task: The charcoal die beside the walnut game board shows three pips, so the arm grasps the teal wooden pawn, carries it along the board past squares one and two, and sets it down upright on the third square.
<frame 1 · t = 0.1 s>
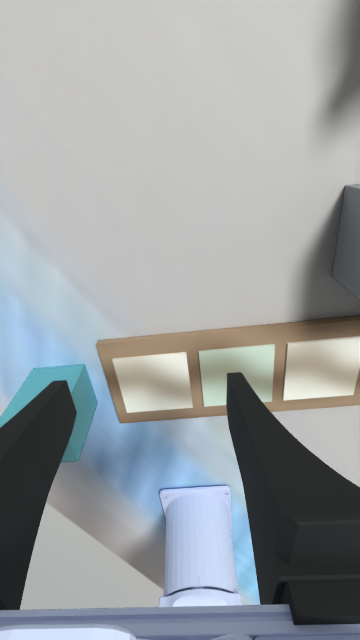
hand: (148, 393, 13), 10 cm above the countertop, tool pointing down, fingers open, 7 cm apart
board: (235, 372, 26), on the countertop
pawn: (66, 385, 26), on the countertop
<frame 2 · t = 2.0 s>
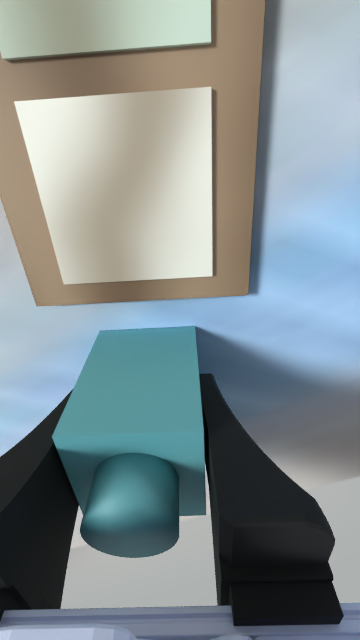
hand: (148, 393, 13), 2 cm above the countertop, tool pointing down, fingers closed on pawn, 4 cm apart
pawn: (152, 366, 15), on the countertop, touching gripper
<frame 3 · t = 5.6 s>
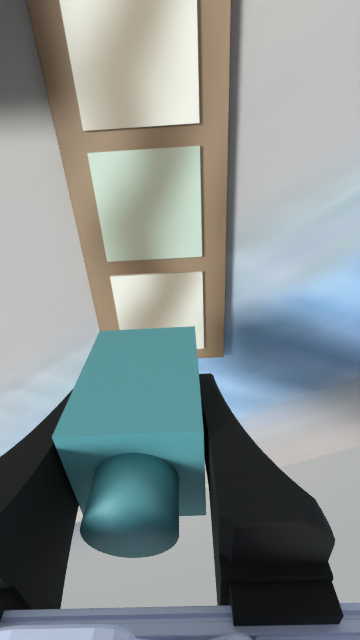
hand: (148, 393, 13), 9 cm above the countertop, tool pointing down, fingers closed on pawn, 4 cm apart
board: (150, 206, 18), on the countertop
pawn: (152, 366, 15), point 7 cm above the countertop, touching gripper
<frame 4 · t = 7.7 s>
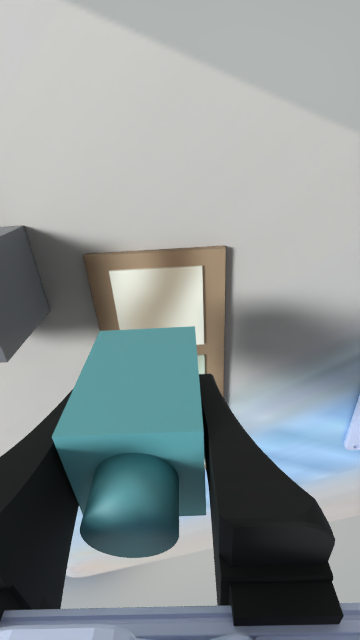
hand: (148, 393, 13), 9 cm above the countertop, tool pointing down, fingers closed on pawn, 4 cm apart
board: (168, 380, 25), on the countertop
pawn: (152, 366, 15), point 7 cm above the countertop, touching gripper
when the fingers open (4 cm above the countertop, at t = 9.4 s): pawn drops 1 cm, resting on board.
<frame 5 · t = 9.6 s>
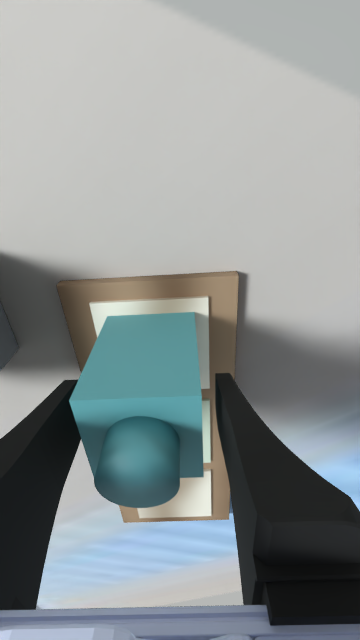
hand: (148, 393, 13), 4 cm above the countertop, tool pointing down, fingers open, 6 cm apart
board: (165, 426, 20), on the countertop
pawn: (154, 349, 16), point 1 cm above the countertop, touching board
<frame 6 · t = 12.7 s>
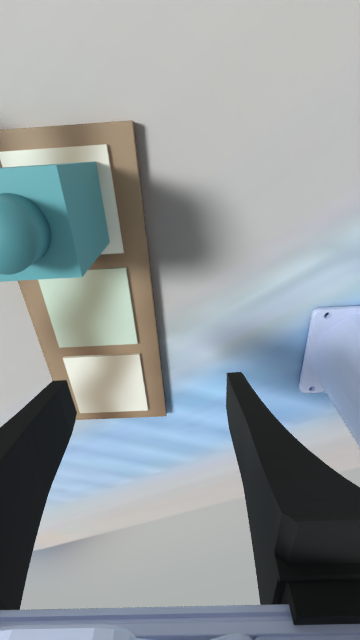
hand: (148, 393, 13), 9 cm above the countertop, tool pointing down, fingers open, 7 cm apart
board: (92, 305, 22), on the countertop
pawn: (65, 206, 18), point 1 cm above the countertop, touching board
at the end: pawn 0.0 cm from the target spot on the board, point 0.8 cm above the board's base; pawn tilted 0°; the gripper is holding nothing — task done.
